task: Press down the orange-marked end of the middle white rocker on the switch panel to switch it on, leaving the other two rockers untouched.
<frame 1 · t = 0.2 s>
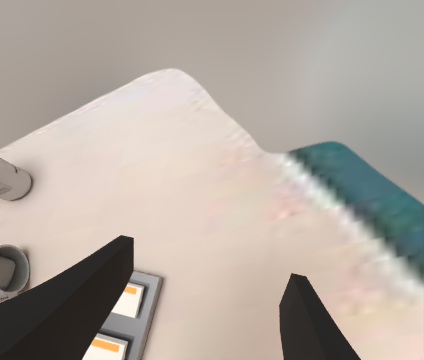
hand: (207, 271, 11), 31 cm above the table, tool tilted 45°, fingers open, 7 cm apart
energy drink can: (19, 186, 46), on the table
rocker middle: (91, 350, 32), point 4 cm above the table, hinge at -12.0°
switch panel: (105, 341, 36), on the table
ceramic mug: (8, 284, 40), on the table
rocker 1: (110, 294, 35), point 4 cm above the table, hinge at -12.0°
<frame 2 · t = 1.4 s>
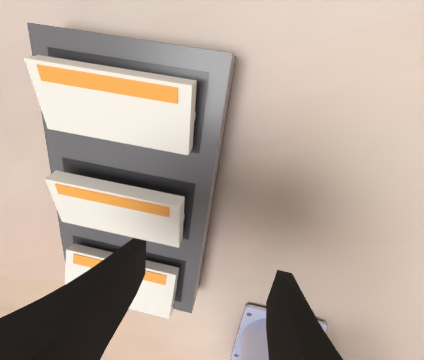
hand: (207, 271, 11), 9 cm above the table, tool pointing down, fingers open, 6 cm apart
rocker middle: (119, 209, 17), point 4 cm above the table, hinge at -12.0°
switch panel: (144, 183, 21), on the table
rocker 1: (116, 106, 14), point 4 cm above the table, hinge at -12.0°
rocker 2: (121, 279, 20), point 4 cm above the table, hinge at 12.0°
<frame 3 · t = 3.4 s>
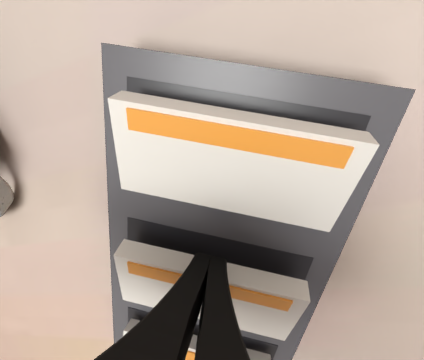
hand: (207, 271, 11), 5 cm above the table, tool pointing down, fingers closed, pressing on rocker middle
rocker middle: (206, 289, 12), point 4 cm above the table, hinge at -11.5°, touching gripper
switch panel: (218, 238, 16), on the table
rocker 1: (229, 162, 10), point 4 cm above the table, hinge at -12.0°
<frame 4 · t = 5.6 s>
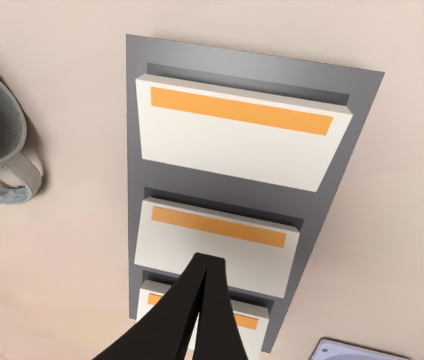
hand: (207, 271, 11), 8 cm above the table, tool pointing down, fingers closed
rocker middle: (213, 245, 14), point 4 cm above the table, hinge at 16.0°
switch panel: (221, 210, 18), on the table
rocker 1: (234, 134, 12), point 4 cm above the table, hinge at -12.0°
rocker 2: (200, 320, 17), point 4 cm above the table, hinge at 12.0°
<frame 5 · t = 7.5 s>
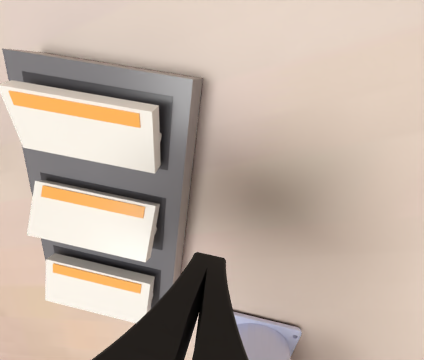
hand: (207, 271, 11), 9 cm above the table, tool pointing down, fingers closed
rocker middle: (94, 219, 18), point 4 cm above the table, hinge at 22.1°
switch panel: (122, 194, 21), on the table
rocker 1: (86, 127, 15), point 4 cm above the table, hinge at -12.0°
rocker 2: (99, 287, 21), point 4 cm above the table, hinge at 12.0°
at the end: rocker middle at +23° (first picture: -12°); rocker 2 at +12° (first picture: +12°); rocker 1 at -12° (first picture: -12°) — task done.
